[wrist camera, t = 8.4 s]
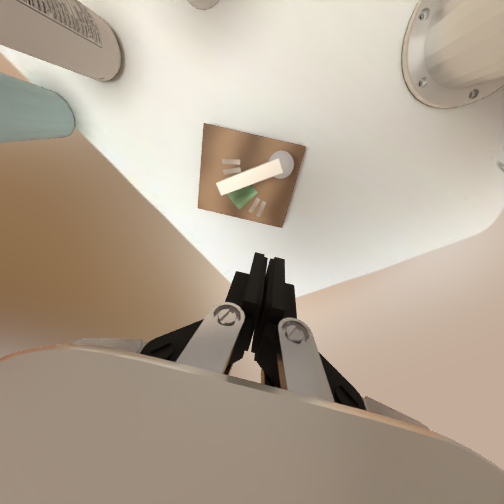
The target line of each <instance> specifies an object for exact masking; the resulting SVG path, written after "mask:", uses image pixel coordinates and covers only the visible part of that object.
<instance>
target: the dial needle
mask: <svg viewBox="0 0 504 504" xmlns="http://www.w3.org/2000/svg"><path fill="white" fill-rule="evenodd" d="M293 168H294V161H293V158H292V156H291V155H290V154H289V153H288V152H286V151H277V152H275V153H274V154H273V155H272V156H271V157H270V159H269V161H268V162H266V163H263V164H260V165H258V166H255V167H253V168H250V169H248V170H245V171H243V172H240V173H238V174H235V175H233V176H230V177H228V178H225V179H223V180H221V181H219V182H217V183H216V185H217V187H218V189H219V192H220V194H221V196H222V195H224V194H227V193H230V192H232V191H235V190H238V189H241V188H243V187H246V186H249V185H251V184H254V183H257V182H259V181H262V180H265V179H267V178H270V177H275V178H278V179H283V178H286V177H287V176H289V175H290V174H291V172H292V170H293Z"/></svg>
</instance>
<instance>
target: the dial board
mask: <svg viewBox="0 0 504 504" xmlns="http://www.w3.org/2000/svg"><path fill="white" fill-rule="evenodd" d="M305 147H306V146H302V145H297V144H293V143H289V142H284V141H280V140H276V139H271V138H267V137H262V136H258V135H254V134H249V133H245V132H240V131H236V130H232V129H227V128H223V127H219V126H214V125H210V124H205V123H204V127H203V141H202V155H201V169H200V183H199V197H198V208H199V209H204V210H208V211H212V212H217V213H221V214H225V215H229V216H234V217H238V218H242V219H246V220H251V221H255V222H259V223H263V224H268V225H272V226H276V227H281V228H282V226H283V223H284V219H285V216H286V212H287V209H288V206H289V202H290V199H291V195H292V192H293V188H294V185H295V181H296V178H297V175H298V171H299V168H300V164H301V161H302V157H303V154H304V151H305ZM277 151H286V152H288V153H289V154H290V155H291V156H292V158H293V161H294V168H293V170H292V172H291V174H290V175H289V176H287V177H286V178H283V179H278V178H275V177H270V178H267V179H265V180H262V181H259V182H257V183H254V184H251V185H249V186H246V187H243V188H241V189H238V190H235V191H232V192H230V193H227V194H224V195H222V196H221V194H220V192H219V189H218V187H217V185H216V183H217V182H219V181H221V180H223V179H225V178H228V177H230V176H233V175H235V174H238V173H240V172H243V171H245V170H248V169H250V168H253V167H255V166H258V165H260V164H263V163H266V162H268V161H269V159H270V157H271V156H272V155H273V154H274V153H275V152H277Z"/></svg>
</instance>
